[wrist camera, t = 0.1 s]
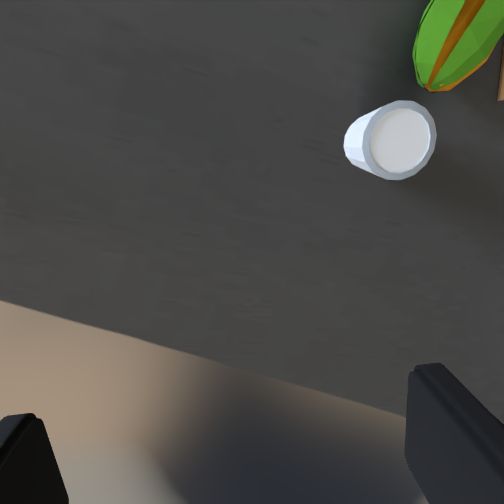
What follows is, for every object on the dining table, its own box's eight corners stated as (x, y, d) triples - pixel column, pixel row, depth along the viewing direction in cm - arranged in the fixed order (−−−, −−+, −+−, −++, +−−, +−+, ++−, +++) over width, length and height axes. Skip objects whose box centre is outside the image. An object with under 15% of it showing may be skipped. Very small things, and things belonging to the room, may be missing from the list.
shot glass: (330, 166, 38) (352, 171, 31) (349, 100, 36) (376, 90, 29) (387, 180, 39) (421, 188, 32) (409, 117, 37) (449, 110, 30)
